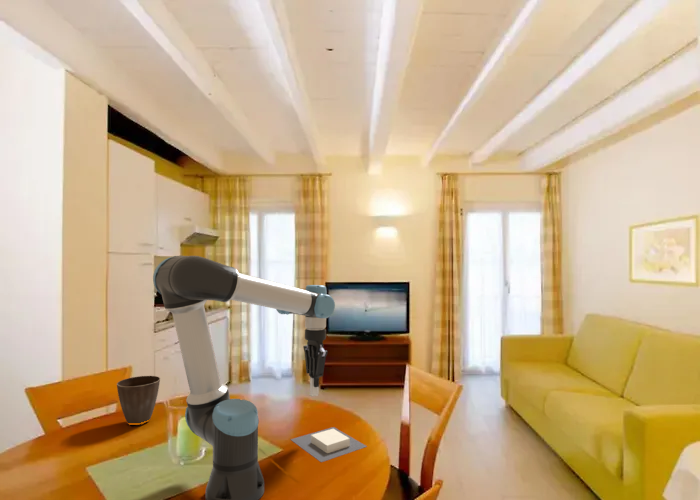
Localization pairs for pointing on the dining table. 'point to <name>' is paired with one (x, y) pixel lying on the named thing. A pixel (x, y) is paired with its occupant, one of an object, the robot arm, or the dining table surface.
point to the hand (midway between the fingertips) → (314, 395)
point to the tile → (330, 440)
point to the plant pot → (138, 397)
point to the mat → (320, 454)
